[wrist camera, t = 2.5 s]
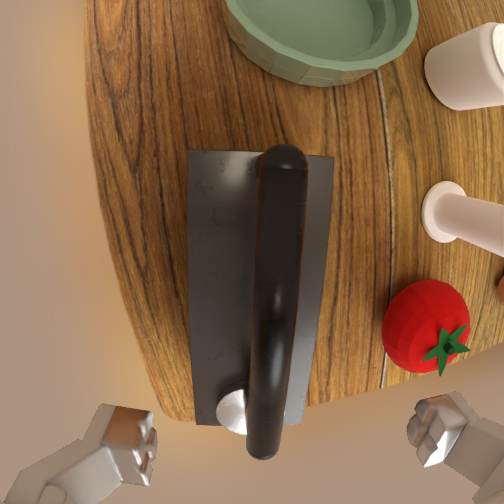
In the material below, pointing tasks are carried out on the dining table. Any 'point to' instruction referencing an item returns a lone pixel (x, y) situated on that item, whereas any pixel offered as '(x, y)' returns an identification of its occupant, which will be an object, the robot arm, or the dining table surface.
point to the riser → (244, 275)
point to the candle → (463, 218)
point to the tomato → (426, 326)
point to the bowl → (321, 36)
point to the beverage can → (469, 68)
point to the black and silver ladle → (271, 302)
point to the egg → (501, 290)
